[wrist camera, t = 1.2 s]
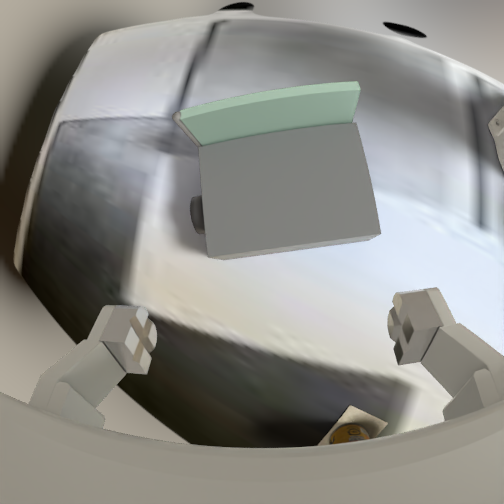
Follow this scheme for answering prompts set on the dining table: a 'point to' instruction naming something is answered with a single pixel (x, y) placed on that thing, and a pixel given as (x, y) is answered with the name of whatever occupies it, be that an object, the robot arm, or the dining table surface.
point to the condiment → (354, 428)
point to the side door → (270, 112)
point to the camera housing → (285, 192)
